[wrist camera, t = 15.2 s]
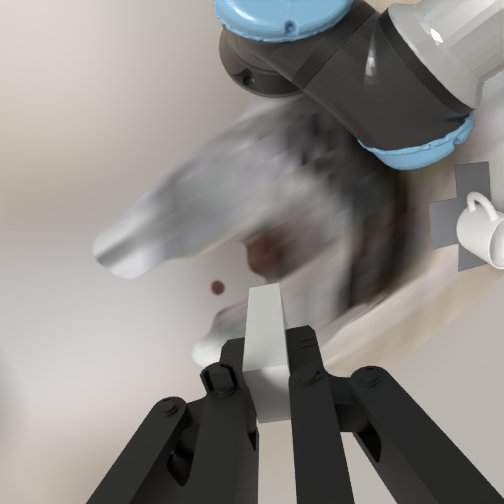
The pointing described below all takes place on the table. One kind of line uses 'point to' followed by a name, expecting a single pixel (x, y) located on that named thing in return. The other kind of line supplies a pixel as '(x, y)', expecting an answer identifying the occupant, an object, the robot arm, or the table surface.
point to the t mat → (459, 211)
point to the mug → (482, 230)
